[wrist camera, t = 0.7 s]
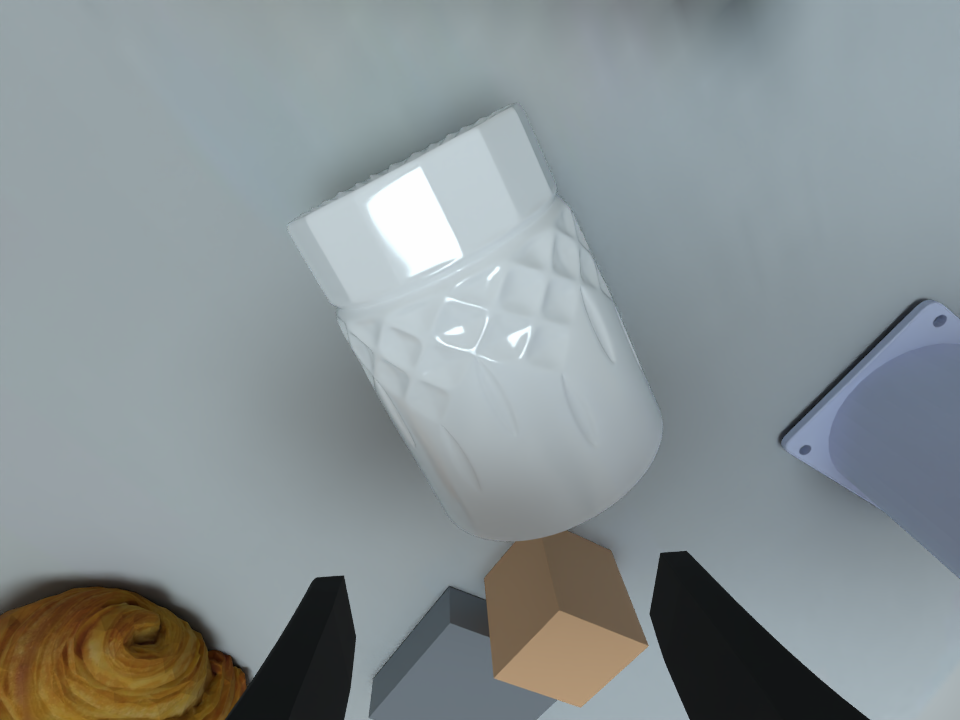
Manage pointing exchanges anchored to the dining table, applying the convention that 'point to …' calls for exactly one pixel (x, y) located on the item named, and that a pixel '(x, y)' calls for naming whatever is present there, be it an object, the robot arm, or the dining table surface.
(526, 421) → the white cup
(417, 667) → the slate coaster
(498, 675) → the tan rectangular block
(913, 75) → the dining table surface
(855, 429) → the robot arm
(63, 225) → the dining table surface
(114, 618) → the croissant
